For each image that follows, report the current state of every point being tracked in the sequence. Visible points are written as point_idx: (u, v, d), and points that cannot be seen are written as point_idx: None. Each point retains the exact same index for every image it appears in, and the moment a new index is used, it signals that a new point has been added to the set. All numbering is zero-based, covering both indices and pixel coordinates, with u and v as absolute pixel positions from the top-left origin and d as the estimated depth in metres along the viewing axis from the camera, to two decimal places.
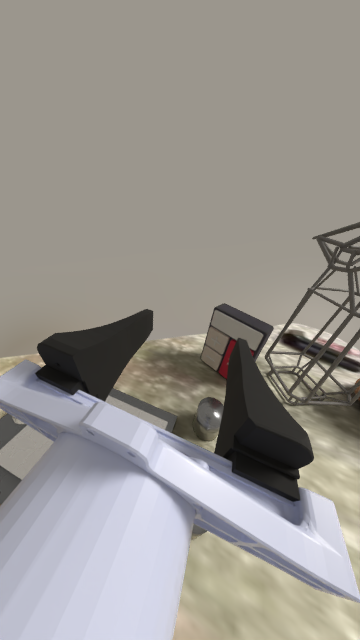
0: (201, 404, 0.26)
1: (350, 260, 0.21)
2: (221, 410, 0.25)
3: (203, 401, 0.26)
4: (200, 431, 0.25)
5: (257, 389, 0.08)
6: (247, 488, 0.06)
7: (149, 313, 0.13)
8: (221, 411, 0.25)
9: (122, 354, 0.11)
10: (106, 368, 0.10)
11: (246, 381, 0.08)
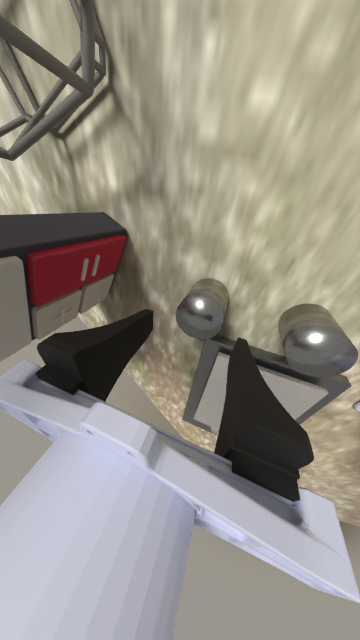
0: (191, 333, 0.16)
1: None
2: (194, 305, 0.14)
3: (186, 330, 0.16)
4: None
5: (257, 389, 0.08)
6: (247, 488, 0.06)
7: (149, 313, 0.13)
8: (195, 306, 0.14)
9: (122, 354, 0.11)
10: (106, 368, 0.10)
11: (246, 381, 0.08)
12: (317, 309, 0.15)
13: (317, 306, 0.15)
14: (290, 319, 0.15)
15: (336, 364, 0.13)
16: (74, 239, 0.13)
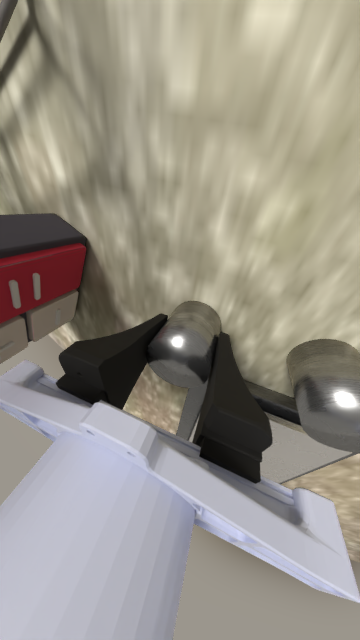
0: (169, 379, 0.12)
1: None
2: (168, 348, 0.10)
3: (161, 375, 0.12)
4: None
5: (229, 379, 0.08)
6: (247, 488, 0.06)
7: (164, 318, 0.13)
8: (170, 348, 0.10)
9: (139, 361, 0.11)
10: (125, 376, 0.10)
11: (220, 372, 0.08)
12: (344, 351, 0.10)
13: (343, 345, 0.11)
14: (305, 362, 0.11)
15: None
16: None
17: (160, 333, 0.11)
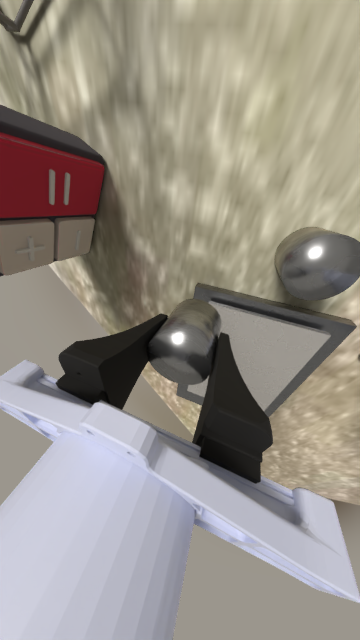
0: (170, 377, 0.12)
1: None
2: (168, 344, 0.10)
3: (163, 372, 0.12)
4: None
5: (229, 379, 0.08)
6: (247, 488, 0.06)
7: (164, 318, 0.13)
8: (171, 345, 0.10)
9: (139, 361, 0.11)
10: (125, 376, 0.10)
11: (220, 372, 0.08)
12: (317, 228, 0.13)
13: (317, 227, 0.13)
14: (287, 243, 0.13)
15: (341, 277, 0.11)
16: (32, 135, 0.11)
17: (160, 330, 0.11)
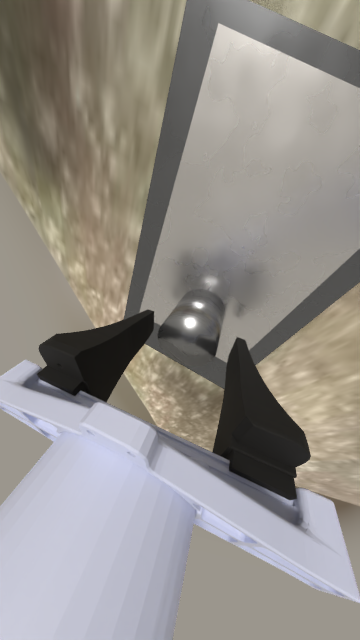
0: (181, 360, 0.13)
1: None
2: (177, 327, 0.11)
3: (173, 357, 0.13)
4: None
5: (255, 388, 0.08)
6: (247, 488, 0.06)
7: (151, 313, 0.13)
8: (179, 327, 0.11)
9: (123, 355, 0.11)
10: (107, 369, 0.10)
11: (244, 380, 0.08)
12: None
13: None
14: None
15: None
16: None
17: (169, 316, 0.12)
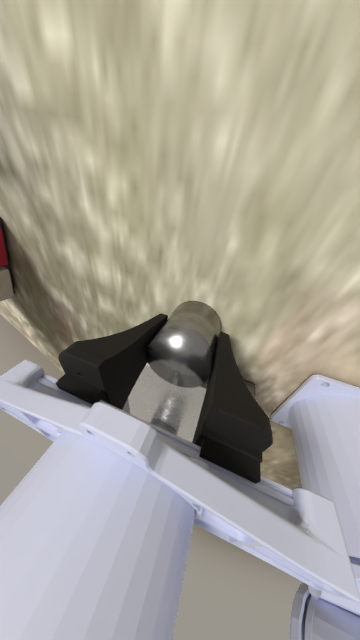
0: None
1: None
2: None
3: None
4: None
5: (229, 379, 0.08)
6: (247, 488, 0.06)
7: (165, 318, 0.13)
8: None
9: (139, 361, 0.11)
10: (125, 376, 0.10)
11: (220, 372, 0.08)
12: (193, 308, 0.12)
13: (199, 304, 0.13)
14: None
15: (194, 374, 0.10)
16: None
17: None
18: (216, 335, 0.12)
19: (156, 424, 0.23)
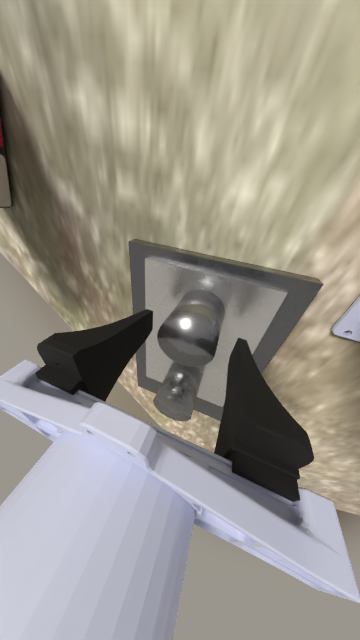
0: (173, 417, 0.19)
1: None
2: (163, 400, 0.17)
3: (168, 415, 0.19)
4: (197, 393, 0.19)
5: (257, 389, 0.08)
6: (247, 488, 0.06)
7: (150, 313, 0.13)
8: (164, 400, 0.17)
9: (122, 354, 0.11)
10: (106, 368, 0.10)
11: (246, 381, 0.08)
12: (200, 295, 0.13)
13: (205, 292, 0.14)
14: None
15: (201, 353, 0.12)
16: None
17: (158, 391, 0.18)
18: (221, 320, 0.13)
19: (179, 365, 0.20)
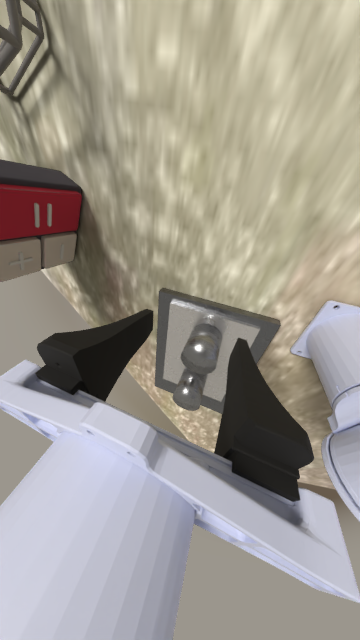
0: (186, 408, 0.27)
1: None
2: (180, 395, 0.25)
3: (182, 406, 0.27)
4: None
5: (257, 389, 0.08)
6: (247, 488, 0.06)
7: (149, 313, 0.13)
8: (181, 396, 0.25)
9: (122, 354, 0.11)
10: (106, 368, 0.10)
11: (246, 381, 0.08)
12: (206, 328, 0.21)
13: (209, 325, 0.22)
14: (191, 334, 0.22)
15: (208, 366, 0.19)
16: (20, 181, 0.15)
17: (176, 389, 0.26)
18: (219, 344, 0.21)
19: (189, 370, 0.28)
